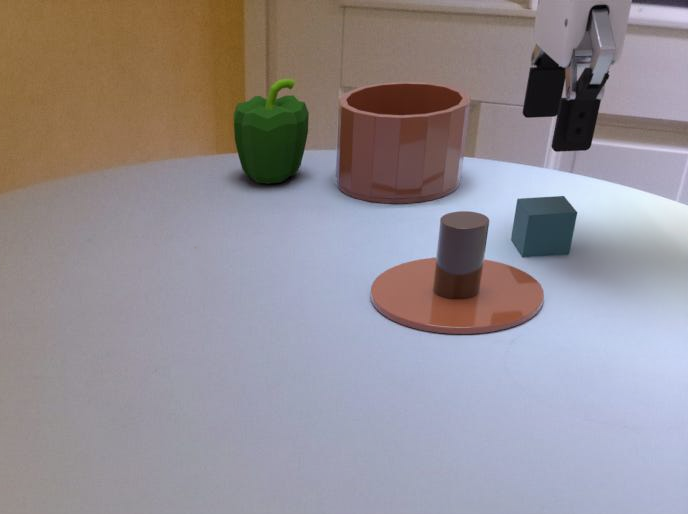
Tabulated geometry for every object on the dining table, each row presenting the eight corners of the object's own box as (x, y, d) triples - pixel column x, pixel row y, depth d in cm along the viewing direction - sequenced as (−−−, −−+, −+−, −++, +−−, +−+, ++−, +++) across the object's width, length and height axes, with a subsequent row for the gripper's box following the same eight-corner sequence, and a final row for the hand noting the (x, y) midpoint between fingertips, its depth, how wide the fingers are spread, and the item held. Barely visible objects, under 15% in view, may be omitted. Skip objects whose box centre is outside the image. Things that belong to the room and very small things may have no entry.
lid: (517, 265, 91) (531, 184, 86) (562, 335, 81) (580, 248, 76) (359, 274, 92) (364, 194, 87) (382, 346, 81) (389, 259, 76)
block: (555, 242, 95) (564, 195, 92) (568, 260, 92) (577, 212, 89) (509, 245, 95) (517, 198, 92) (521, 263, 92) (529, 215, 89)
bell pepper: (231, 190, 110) (227, 92, 104) (238, 166, 116) (236, 72, 110) (305, 189, 109) (307, 90, 103) (309, 165, 115) (310, 70, 109)
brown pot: (446, 159, 114) (455, 78, 109) (471, 199, 104) (482, 112, 99) (330, 166, 115) (333, 85, 109) (344, 207, 105) (347, 120, 99)
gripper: (693, -98, 68) (629, 162, 80) (614, -125, 81) (569, 103, 92) (585, -93, 68) (537, 166, 80) (523, -121, 81) (489, 106, 93)
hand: (554, 132), depth 86 cm, fingers open, 9 cm apart
